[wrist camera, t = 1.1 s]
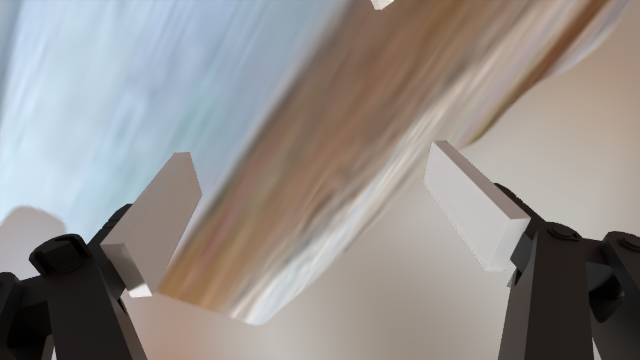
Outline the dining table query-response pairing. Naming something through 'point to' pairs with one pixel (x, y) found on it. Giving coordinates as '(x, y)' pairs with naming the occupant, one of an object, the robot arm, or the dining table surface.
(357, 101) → the dining table surface
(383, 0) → the platform
